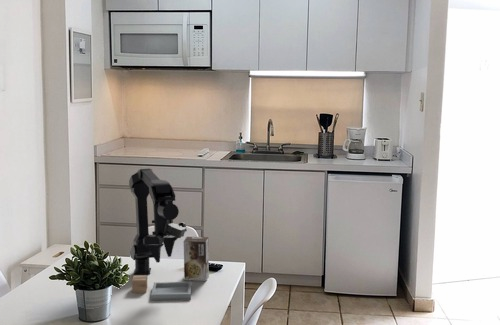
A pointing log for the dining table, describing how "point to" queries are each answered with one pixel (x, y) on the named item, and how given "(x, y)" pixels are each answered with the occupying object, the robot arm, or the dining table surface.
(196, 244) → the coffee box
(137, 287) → the walnut block
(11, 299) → the dining table surface
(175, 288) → the grey tray
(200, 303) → the dining table surface
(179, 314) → the dining table surface
